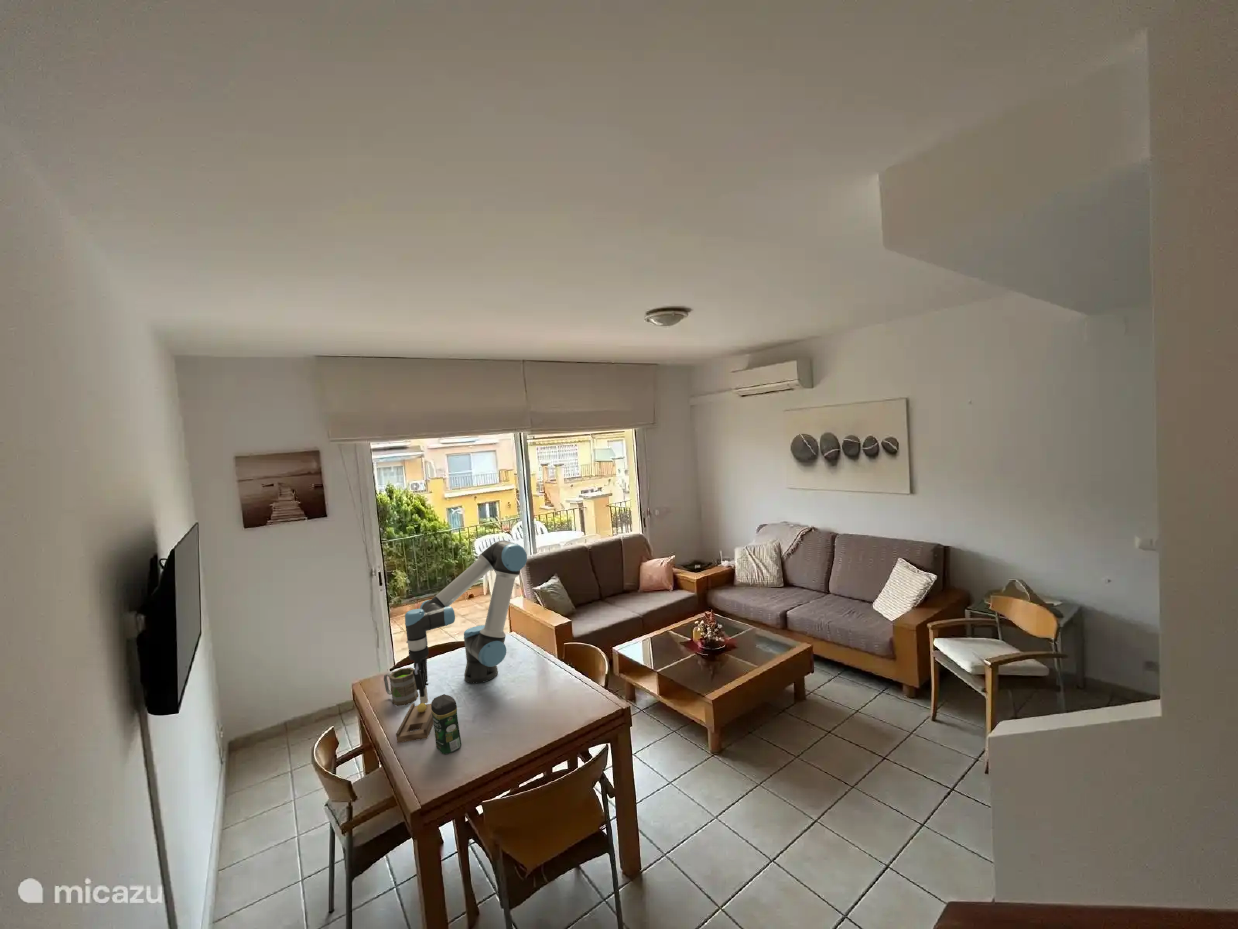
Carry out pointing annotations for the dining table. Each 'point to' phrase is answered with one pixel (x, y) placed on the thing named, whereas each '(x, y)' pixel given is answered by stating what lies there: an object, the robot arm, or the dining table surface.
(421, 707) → the ball
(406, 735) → the lane board
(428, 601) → the robot arm
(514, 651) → the dining table surface
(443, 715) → the coffee jar
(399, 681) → the mug
